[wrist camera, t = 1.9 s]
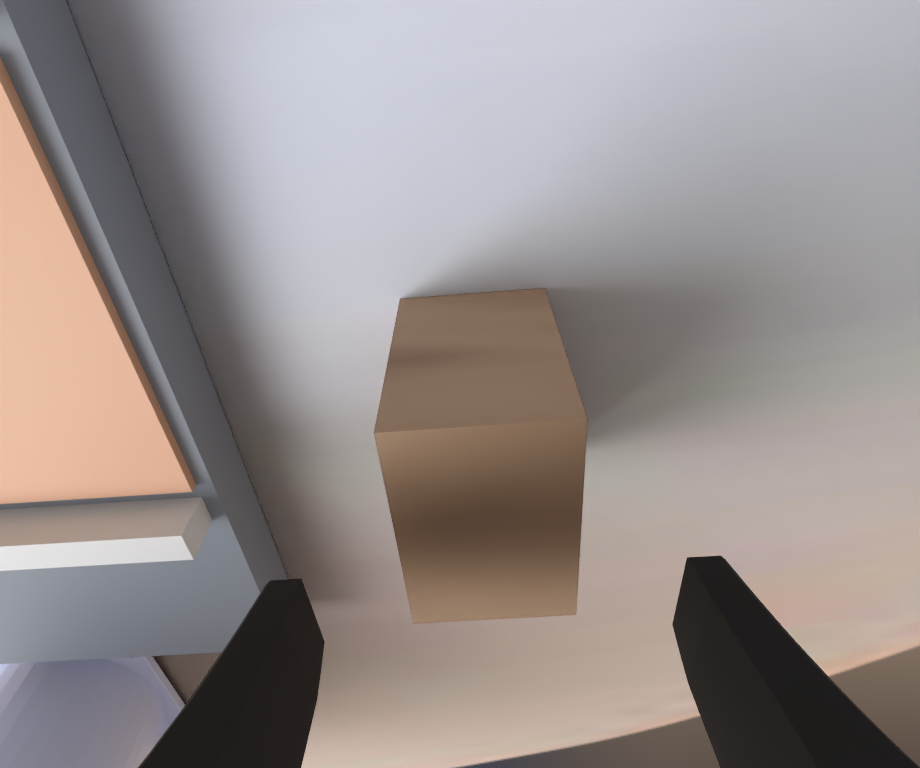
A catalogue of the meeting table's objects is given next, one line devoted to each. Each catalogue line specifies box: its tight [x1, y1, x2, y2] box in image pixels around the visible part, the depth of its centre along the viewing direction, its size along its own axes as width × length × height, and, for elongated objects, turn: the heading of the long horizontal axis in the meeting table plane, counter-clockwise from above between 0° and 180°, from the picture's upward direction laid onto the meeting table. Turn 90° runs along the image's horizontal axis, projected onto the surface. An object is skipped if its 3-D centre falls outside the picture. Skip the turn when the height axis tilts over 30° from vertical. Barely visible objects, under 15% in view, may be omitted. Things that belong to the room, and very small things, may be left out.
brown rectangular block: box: [374, 288, 587, 623], centre depth 15 cm, size 6×4×6 cm, turn 4°
